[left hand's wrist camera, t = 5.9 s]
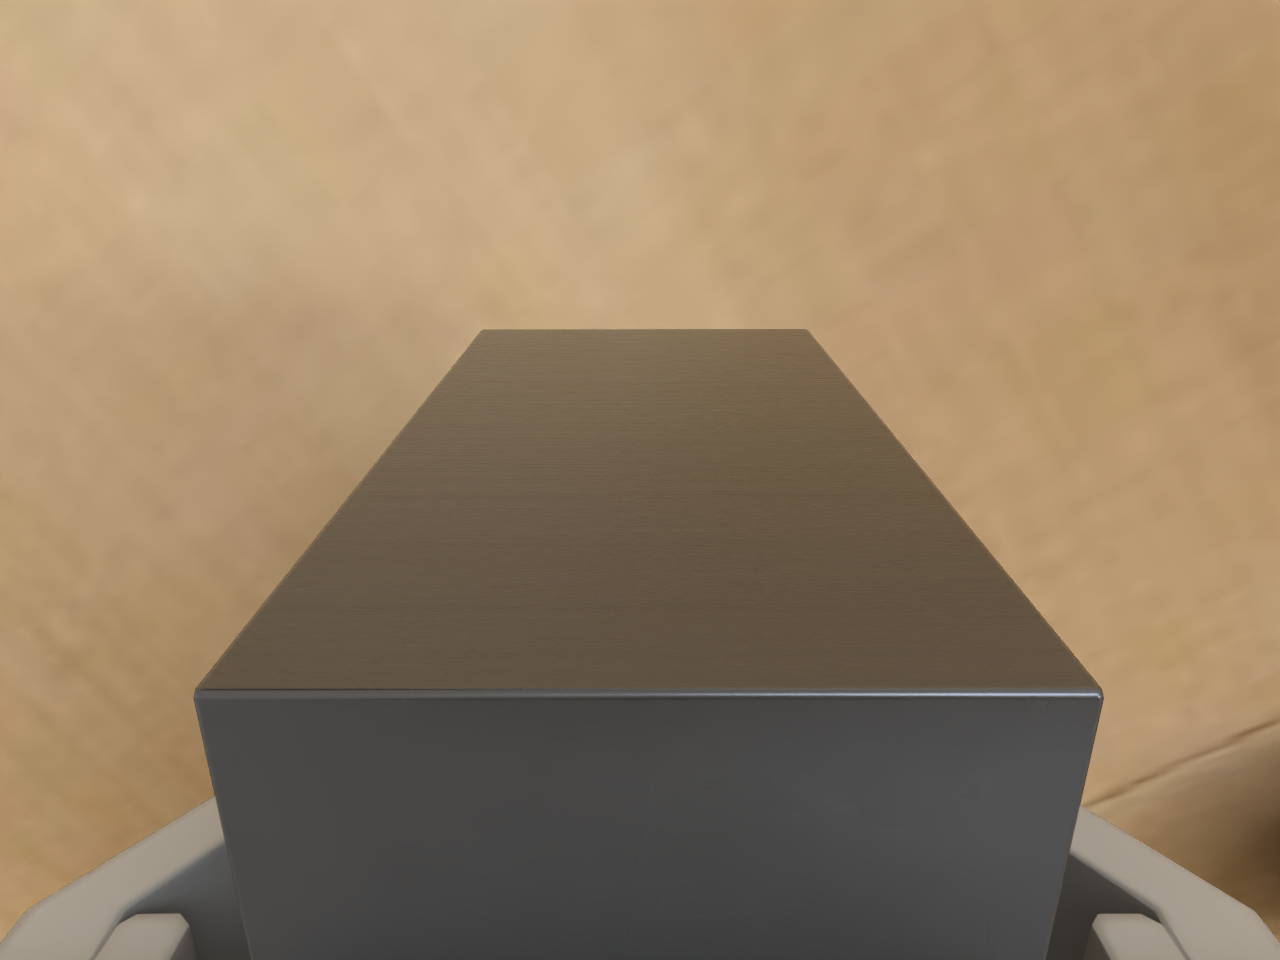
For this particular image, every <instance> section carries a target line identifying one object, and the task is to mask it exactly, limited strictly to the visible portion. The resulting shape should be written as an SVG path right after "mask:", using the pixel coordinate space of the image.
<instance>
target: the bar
mask: <svg viewBox="0 0 1280 960" xmlns="http://www.w3.org/2000/svg"><path fill="white" fill-rule="evenodd" d="M1103 699H1104V697H1103V692H1102V689H1101V687H1100V686H1099V685H1098V684H1097V682H1096V681H1095V680H1094V679H1093V678H1092V676H1091V675H1090V674H1089V673H1088V671H1087V670H1086V669H1085V668H1084V667H1083V665H1082V664H1081V663H1080V662H1079V660H1078V659H1077V658H1076V657H1075V656H1074V654H1073V653H1072V652H1071V651H1070V649H1069V648H1068V647H1067V646H1066V645H1065V643H1064V642H1063V641H1062V640H1061V638H1060V637H1059V636H1058V635H1057V634H1056V632H1055V631H1054V630H1053V629H1052V627H1051V626H1050V625H1049V624H1048V623H1047V621H1046V620H1045V619H1044V618H1043V617H1042V615H1041V614H1040V613H1039V612H1038V610H1037V609H1036V608H1035V607H1034V606H1033V604H1032V603H1031V602H1030V601H1029V599H1028V598H1027V597H1026V596H1025V595H1024V593H1023V592H1022V591H1021V590H1020V588H1019V587H1018V586H1017V585H1016V584H1015V582H1014V581H1013V580H1012V579H1011V577H1010V576H1009V575H1008V574H1007V573H1006V571H1005V570H1004V569H1003V568H1002V566H1001V565H1000V564H999V563H998V562H997V560H996V559H995V558H994V557H993V555H992V554H991V553H990V552H989V551H988V549H987V548H986V547H985V546H984V545H983V543H982V542H981V541H980V540H979V538H978V537H977V536H976V535H975V534H974V532H973V531H972V530H971V529H970V527H969V526H968V525H967V524H966V523H965V521H964V520H963V519H962V518H961V516H960V515H959V514H958V513H957V512H956V510H955V509H954V508H953V507H952V505H951V504H950V503H949V502H948V501H947V499H946V498H945V497H944V496H943V494H942V493H941V492H940V491H939V490H938V488H937V487H936V486H935V485H934V484H933V482H932V481H931V480H930V479H929V477H928V476H927V475H926V474H925V473H924V471H923V470H922V469H921V468H920V466H919V465H918V464H917V463H916V462H915V460H914V459H913V458H912V457H911V455H910V454H909V453H908V452H907V451H906V449H905V448H904V447H903V446H902V444H901V443H900V442H899V441H898V440H897V438H896V437H895V436H894V435H893V433H892V432H891V431H890V430H889V429H888V427H887V426H886V425H885V424H884V422H883V421H882V420H881V419H880V418H879V416H878V415H877V414H876V413H875V412H874V410H873V409H872V408H871V407H870V405H869V404H868V403H867V402H866V401H865V399H864V398H863V397H862V396H861V394H860V393H859V392H858V391H857V390H856V388H855V387H854V386H853V385H852V383H851V382H850V381H849V380H848V379H847V377H846V376H845V375H844V374H843V372H842V371H841V370H840V369H839V368H838V366H837V365H836V364H835V363H834V361H833V360H832V359H831V358H830V357H829V355H828V354H827V353H826V352H825V350H824V349H823V348H822V347H821V346H820V344H819V343H818V342H817V341H816V340H815V338H814V337H813V336H812V335H811V333H810V332H809V331H808V330H806V329H633V330H482V331H481V332H480V333H479V334H478V335H477V337H476V338H475V339H474V340H473V342H472V343H471V344H470V345H469V347H468V348H467V349H466V350H465V352H464V353H463V354H462V355H461V357H460V358H459V359H458V360H457V362H456V363H455V364H454V365H453V367H452V368H451V369H450V370H449V372H448V373H447V374H446V376H445V377H444V378H443V379H442V381H441V382H440V383H439V384H438V386H437V387H436V388H435V389H434V391H433V392H432V393H431V394H430V396H429V397H428V398H427V399H426V401H425V402H424V403H423V404H422V406H421V407H420V408H419V409H418V411H417V412H416V413H415V414H414V416H413V417H412V418H411V419H410V421H409V422H408V423H407V424H406V426H405V427H404V428H403V429H402V431H401V432H400V433H399V434H398V436H397V437H396V438H395V439H394V441H393V442H392V443H391V444H390V446H389V447H388V448H387V449H386V451H385V452H384V453H383V454H382V456H381V457H380V458H379V460H378V461H377V462H376V463H375V465H374V466H373V467H372V468H371V470H370V471H369V472H368V473H367V475H366V476H365V477H364V478H363V480H362V481H361V482H360V483H359V485H358V486H357V487H356V488H355V490H354V491H353V492H352V493H351V495H350V496H349V497H348V498H347V500H346V501H345V502H344V503H343V505H342V506H341V507H340V508H339V510H338V511H337V512H336V513H335V515H334V516H333V517H332V518H331V520H330V521H329V522H328V523H327V525H326V526H325V527H324V528H323V530H322V531H321V532H320V533H319V535H318V536H317V537H316V538H315V540H314V541H313V542H312V544H311V545H310V546H309V547H308V549H307V550H306V551H305V552H304V554H303V555H302V556H301V557H300V559H299V560H298V561H297V562H296V564H295V565H294V566H293V567H292V569H291V570H290V571H289V572H288V574H287V575H286V576H285V577H284V579H283V580H282V581H281V582H280V584H279V585H278V586H277V587H276V589H275V590H274V591H273V592H272V594H271V595H270V596H269V597H268V599H267V600H266V601H265V602H264V604H263V605H262V606H261V607H260V609H259V610H258V611H257V612H256V614H255V615H254V616H253V617H252V619H251V620H250V621H249V622H248V624H247V625H246V626H245V627H244V629H243V630H242V631H241V633H240V634H239V635H238V636H237V638H236V639H235V640H234V641H233V643H232V644H231V645H230V646H229V648H228V649H227V650H226V651H225V653H224V654H223V655H222V656H221V658H220V659H219V660H218V661H217V663H216V664H215V665H214V666H213V668H212V669H211V670H210V671H209V673H208V674H207V675H206V676H205V678H204V679H203V680H202V681H201V683H200V684H199V685H198V686H197V688H196V689H195V693H194V702H195V707H196V711H197V716H198V721H199V725H200V730H201V734H202V739H203V743H204V748H205V753H206V757H207V762H208V766H209V771H210V775H211V780H212V785H213V789H214V794H215V798H216V803H217V808H218V812H219V817H220V821H221V826H222V830H223V835H224V840H225V844H226V849H227V853H228V858H229V863H230V867H231V872H232V876H233V881H234V885H235V890H236V895H237V899H238V904H239V908H240V913H241V917H242V922H243V927H244V931H245V936H246V940H247V945H248V950H249V954H250V959H251V960H1046V956H1047V951H1048V947H1049V942H1050V938H1051V933H1052V929H1053V924H1054V920H1055V915H1056V911H1057V906H1058V902H1059V897H1060V893H1061V888H1062V884H1063V879H1064V875H1065V870H1066V866H1067V861H1068V857H1069V852H1070V848H1071V843H1072V839H1073V834H1074V830H1075V825H1076V821H1077V816H1078V812H1079V807H1080V803H1081V798H1082V794H1083V789H1084V785H1085V780H1086V776H1087V771H1088V767H1089V762H1090V758H1091V753H1092V749H1093V744H1094V740H1095V735H1096V731H1097V726H1098V722H1099V717H1100V713H1101V708H1102V704H1103Z"/></svg>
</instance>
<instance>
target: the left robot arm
mask: <svg viewBox="0 0 1280 960" xmlns="http://www.w3.org/2000/svg"><path fill="white" fill-rule="evenodd" d="M0 960H251V959H250V954H249V950H248V945H247V940H246V936H245V931H244V927H243V922H242V917H241V913H240V908H239V904H238V899H237V895H236V890H235V885H234V881H233V876H232V872H231V867H230V863H229V858H228V853H227V849H226V844H225V840H224V835H223V830H222V826H221V821H220V817H219V812H218V808H217V803H216V798H215V796H213V797H212V798H210V799H208V800H207V801H205V802H203V803H202V804H200V805H198V806H197V807H195V808H194V809H192V810H190V811H189V812H187V813H185V814H184V815H182V816H180V817H179V818H177V819H175V820H174V821H172V822H170V823H169V824H167V825H166V826H164V827H162V828H161V829H159V830H157V831H156V832H154V833H152V834H151V835H149V836H147V837H146V838H144V839H142V840H141V841H139V842H137V843H136V844H134V845H133V846H131V847H129V848H128V849H126V850H124V851H123V852H121V853H119V854H118V855H116V856H114V857H113V858H111V859H109V860H108V861H106V862H105V863H103V864H101V865H100V866H98V867H96V868H95V869H93V870H91V871H90V872H88V873H86V874H85V875H83V876H81V877H80V878H78V879H77V880H75V881H73V882H72V883H70V884H68V885H67V886H65V887H63V888H62V889H60V890H58V891H57V892H55V893H53V894H52V895H50V896H49V897H47V898H45V899H44V900H42V901H40V902H39V903H37V904H35V905H34V906H32V907H30V908H29V909H27V910H26V911H25V912H24V914H23V915H22V916H21V918H20V919H19V920H18V921H17V923H16V924H15V925H14V927H13V928H12V929H11V930H10V932H9V933H8V934H7V935H6V937H5V938H4V939H3V941H2V942H1V943H0ZM1046 960H1280V943H1279V941H1278V940H1277V939H1276V938H1275V936H1274V935H1273V934H1272V932H1271V931H1270V930H1269V929H1268V927H1267V926H1266V925H1265V923H1264V922H1263V921H1262V919H1261V918H1260V917H1259V916H1258V914H1257V913H1256V912H1255V911H1254V910H1252V909H1251V908H1249V907H1247V906H1246V905H1244V904H1242V903H1241V902H1239V901H1237V900H1236V899H1234V898H1232V897H1231V896H1229V895H1228V894H1226V893H1224V892H1223V891H1221V890H1219V889H1218V888H1216V887H1214V886H1213V885H1211V884H1209V883H1208V882H1206V881H1205V880H1203V879H1201V878H1200V877H1198V876H1196V875H1195V874H1193V873H1191V872H1190V871H1188V870H1187V869H1185V868H1183V867H1182V866H1180V865H1178V864H1177V863H1175V862H1173V861H1172V860H1170V859H1168V858H1167V857H1165V856H1164V855H1162V854H1160V853H1159V852H1157V851H1155V850H1154V849H1152V848H1150V847H1149V846H1147V845H1145V844H1144V843H1142V842H1141V841H1139V840H1137V839H1136V838H1134V837H1132V836H1131V835H1129V834H1127V833H1126V832H1124V831H1122V830H1121V829H1119V828H1118V827H1116V826H1114V825H1113V824H1111V823H1109V822H1108V821H1106V820H1104V819H1103V818H1101V817H1099V816H1098V815H1096V814H1095V813H1093V812H1091V811H1090V810H1088V809H1086V808H1085V807H1083V806H1081V805H1080V807H1079V812H1078V816H1077V821H1076V825H1075V830H1074V834H1073V839H1072V843H1071V848H1070V852H1069V857H1068V861H1067V866H1066V870H1065V875H1064V879H1063V884H1062V888H1061V893H1060V897H1059V902H1058V906H1057V911H1056V915H1055V920H1054V924H1053V929H1052V933H1051V938H1050V942H1049V947H1048V951H1047V956H1046Z"/></svg>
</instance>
